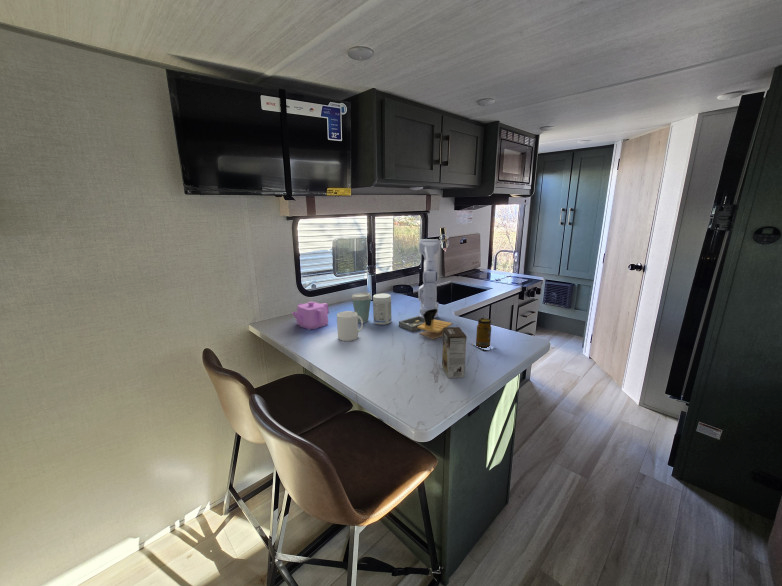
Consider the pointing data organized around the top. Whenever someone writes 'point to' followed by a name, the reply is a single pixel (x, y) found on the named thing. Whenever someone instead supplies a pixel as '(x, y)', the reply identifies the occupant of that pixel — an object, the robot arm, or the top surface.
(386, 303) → the supplement tub
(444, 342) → the coffee box
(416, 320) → the parts tub
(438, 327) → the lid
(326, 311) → the teakettle
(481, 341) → the condiment
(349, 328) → the mug
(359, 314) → the disposable coffee cup
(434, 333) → the mat
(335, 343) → the top surface
